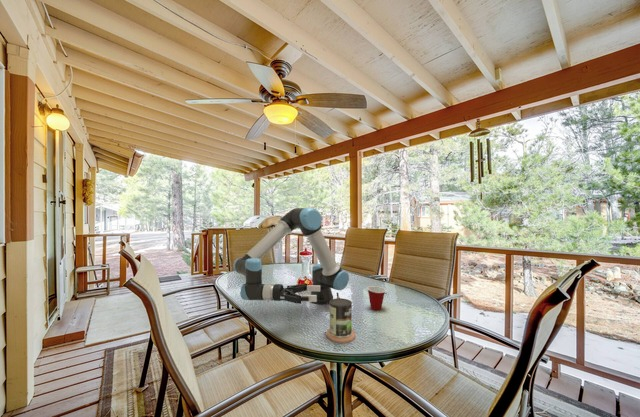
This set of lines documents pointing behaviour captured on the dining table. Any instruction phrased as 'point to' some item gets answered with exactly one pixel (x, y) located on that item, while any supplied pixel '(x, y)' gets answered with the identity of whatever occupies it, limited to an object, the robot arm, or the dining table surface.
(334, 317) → the coffee can
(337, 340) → the dish
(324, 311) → the dining table surface
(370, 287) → the plastic cup
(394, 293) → the dining table surface
